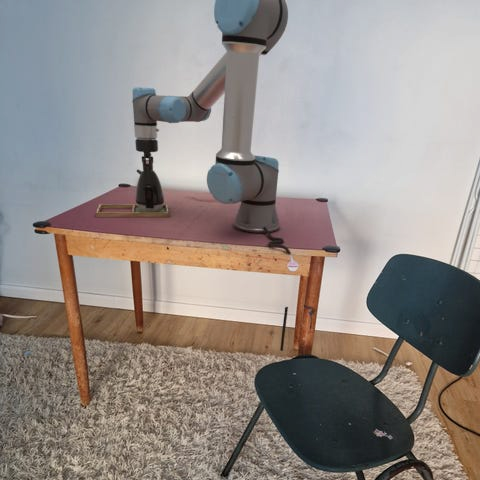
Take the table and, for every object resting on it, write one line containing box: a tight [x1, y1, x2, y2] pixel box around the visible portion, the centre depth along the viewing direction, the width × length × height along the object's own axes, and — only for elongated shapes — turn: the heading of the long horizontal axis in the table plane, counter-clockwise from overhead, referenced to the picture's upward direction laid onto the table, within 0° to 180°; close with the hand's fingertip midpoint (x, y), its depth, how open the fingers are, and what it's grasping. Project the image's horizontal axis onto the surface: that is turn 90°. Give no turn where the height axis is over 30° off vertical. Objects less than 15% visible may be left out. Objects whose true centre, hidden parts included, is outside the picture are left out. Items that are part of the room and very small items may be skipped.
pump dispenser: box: [135, 168, 165, 212], centre depth 151 cm, size 10×10×15 cm
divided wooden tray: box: [95, 203, 170, 218], centre depth 153 cm, size 13×25×2 cm, turn 100°
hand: (149, 204), depth 153 cm, fingers closed on pump dispenser, 10 cm apart
